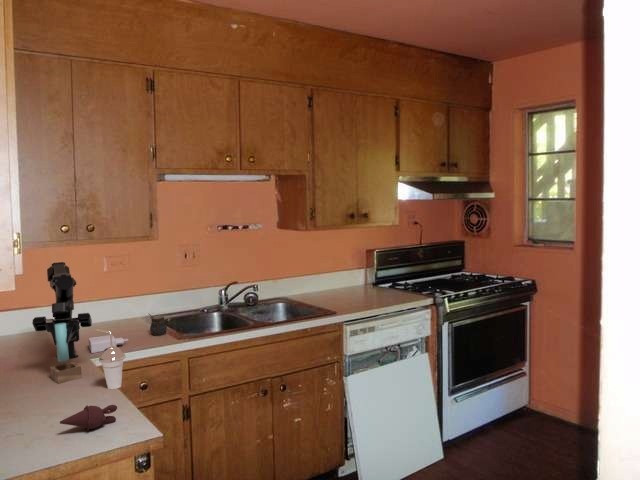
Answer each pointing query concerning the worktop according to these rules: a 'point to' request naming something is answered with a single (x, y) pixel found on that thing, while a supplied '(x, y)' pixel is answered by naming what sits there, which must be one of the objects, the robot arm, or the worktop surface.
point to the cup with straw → (112, 364)
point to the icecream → (91, 417)
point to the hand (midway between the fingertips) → (61, 343)
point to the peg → (61, 342)
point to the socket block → (65, 372)
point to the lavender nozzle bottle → (103, 343)
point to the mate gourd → (158, 325)
